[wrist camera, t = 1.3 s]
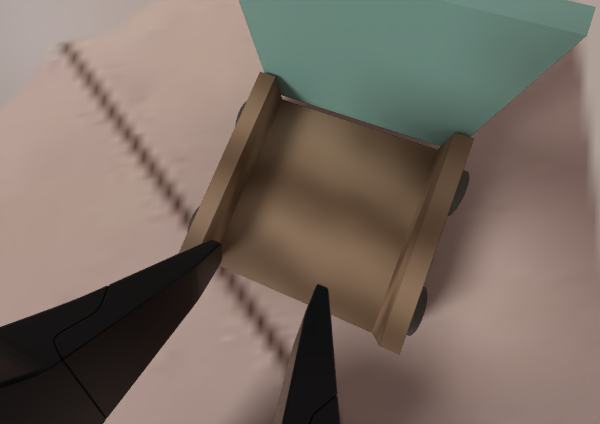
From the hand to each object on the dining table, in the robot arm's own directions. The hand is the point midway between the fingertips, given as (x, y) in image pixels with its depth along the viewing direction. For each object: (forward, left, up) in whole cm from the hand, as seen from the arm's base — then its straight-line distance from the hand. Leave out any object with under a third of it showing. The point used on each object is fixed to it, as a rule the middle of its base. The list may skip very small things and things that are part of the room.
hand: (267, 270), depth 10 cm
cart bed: (+4, -2, -14) cm, 14 cm away
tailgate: (+11, -6, -11) cm, 17 cm away
